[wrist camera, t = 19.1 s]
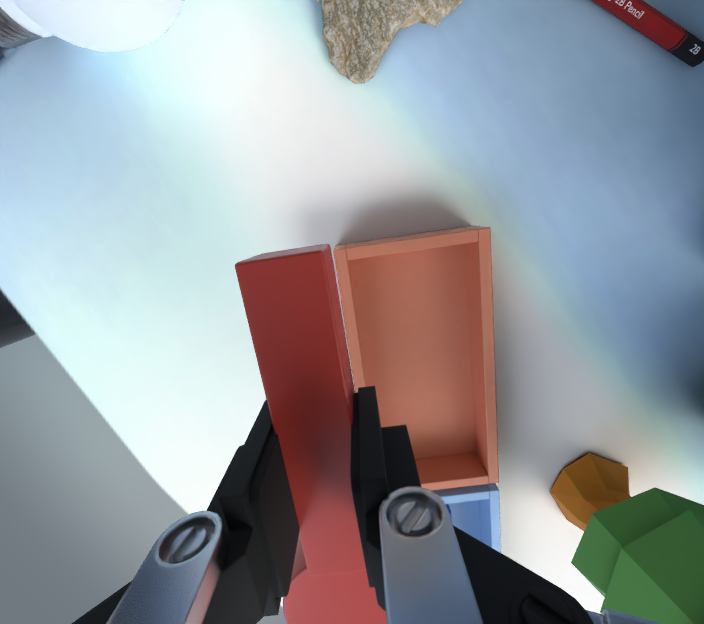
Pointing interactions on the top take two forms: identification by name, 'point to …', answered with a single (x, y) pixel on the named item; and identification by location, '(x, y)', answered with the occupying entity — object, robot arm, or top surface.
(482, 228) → the red bin
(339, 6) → the stone tool
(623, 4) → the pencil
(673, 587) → the decorative tree
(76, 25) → the light bulb
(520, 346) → the top surface
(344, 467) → the red spoon
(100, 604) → the robot arm
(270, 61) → the top surface
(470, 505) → the blue bin
